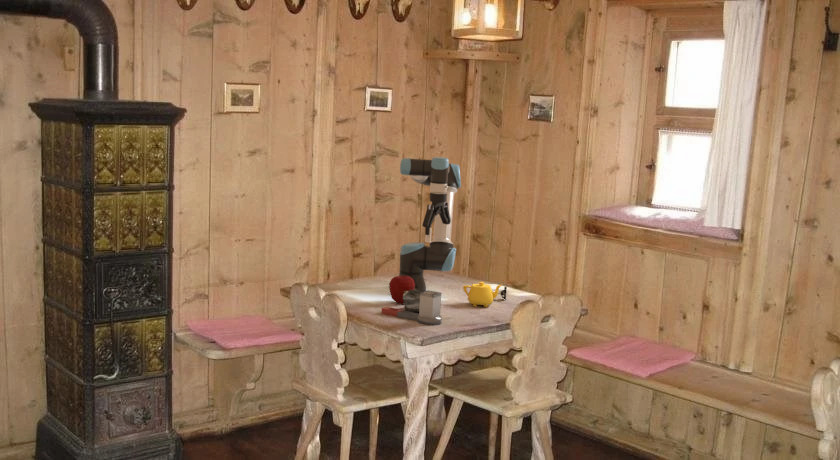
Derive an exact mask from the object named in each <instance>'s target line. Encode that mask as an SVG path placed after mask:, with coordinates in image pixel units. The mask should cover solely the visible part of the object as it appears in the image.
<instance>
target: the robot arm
mask: <svg viewBox="0 0 840 460" xmlns="http://www.w3.org/2000/svg"><path fill="white" fill-rule="evenodd" d="M399 166H400V167H399V168H400V169H399V171H400V174H401V175H403V176H409V177H410V178H411V179H412V181H414V182H416V183H417V184H420V185H423V186H427V187H429V192H430V193H429V202H431V204H427V207H426V212H425V214H424V218H423V222H422V227H424V230H425V231H424V242H416V241H415V242H409V243H404V244H402V245H401V247H400V251H399V252H400V253H399V271H398V272H399V275H398V276H410V277H411V278H412V279H413V280H414V282H415V288H414V289H415V290H418V291H420V292H424V291H427V284H426V280H425V277H424V271H431V272H432V271H433V272H435V271H436V272H451V271H452V270H453V269H454V265H455V259H456V253H457V248H456V247H454V243H453V242H452V229H453V214H454V200H455V194H456V193H458V190H459V189H460V188H461V187H462V183H461V182H462V181H461V170H460V168H461V167H460V165H459V164H457V163H456V164H455V163H450V161H449V158H448V157H442V156H440V157H439V156H433V157H432V158H431V159H421V158H409V157H407V158H401V160H400V165H399ZM433 222H434V226H433V229H432V225H433ZM432 231H433V238H432ZM425 243H429V246H428V245H426V244H425Z"/></svg>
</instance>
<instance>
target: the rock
mask: <svg viewBox="0 0 840 460" xmlns="http://www.w3.org/2000/svg"><path fill="white" fill-rule="evenodd" d="M420 293H421V292H420V291H418V290H415V289H414V290H410V291H404V294H403V302H404V304H403V306H404V307H403V308H404V311H408V312H413V313H418V312H419V307H420Z"/></svg>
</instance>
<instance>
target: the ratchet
mask: <svg viewBox="0 0 840 460" xmlns="http://www.w3.org/2000/svg"><path fill="white" fill-rule="evenodd" d="M380 313H381V314H380V315H386V316H391V317H396V318H401V319H407V320H412V321H416V323H418V324H419V325H423V326H437V325H438V326H439V325H441V324H442V318H443V316H442V315H440V316H439V317H437V318H434V319H430V318H425V317H420V316H419V313H418V312H408V311H405V310H403V309H400V308H396V307H391V306H385V307H384V306H383V307H382V308H381V312H380Z"/></svg>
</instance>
